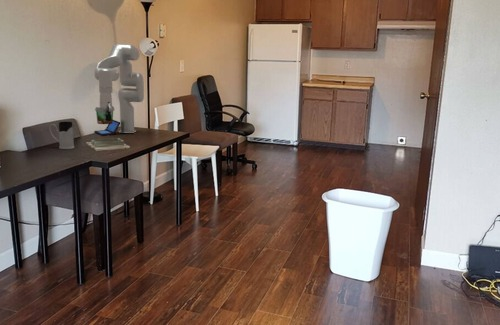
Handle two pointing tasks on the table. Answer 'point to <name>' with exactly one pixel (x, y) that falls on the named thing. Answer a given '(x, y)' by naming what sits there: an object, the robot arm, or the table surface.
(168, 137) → the table surface
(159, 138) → the table surface
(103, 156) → the table surface
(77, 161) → the table surface
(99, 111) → the food container
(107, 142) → the stand
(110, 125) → the game console
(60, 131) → the grey pitcher
